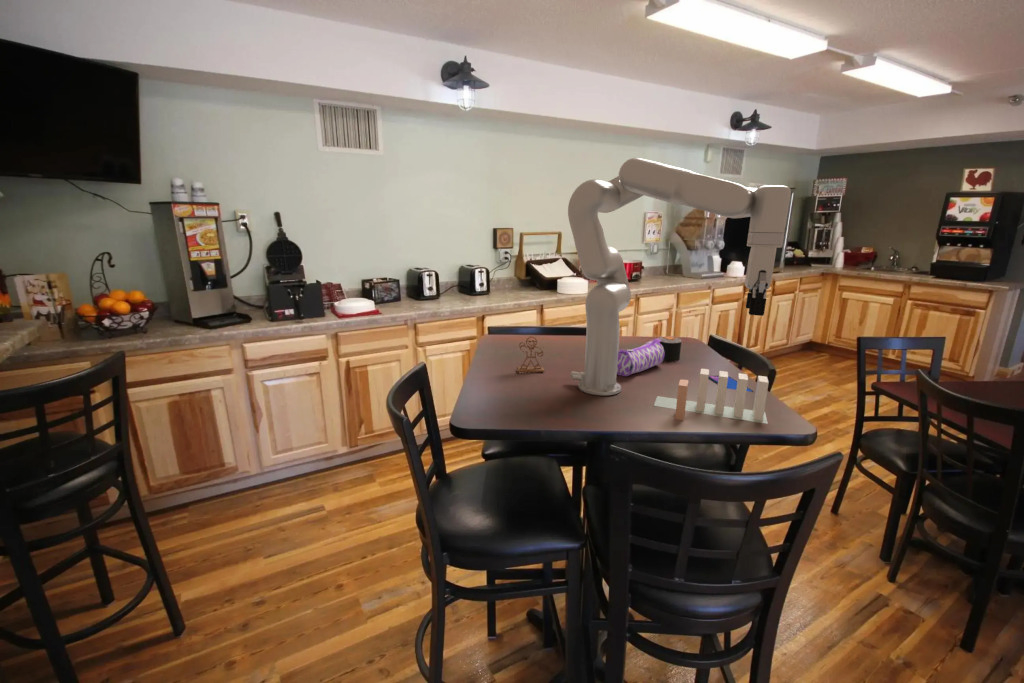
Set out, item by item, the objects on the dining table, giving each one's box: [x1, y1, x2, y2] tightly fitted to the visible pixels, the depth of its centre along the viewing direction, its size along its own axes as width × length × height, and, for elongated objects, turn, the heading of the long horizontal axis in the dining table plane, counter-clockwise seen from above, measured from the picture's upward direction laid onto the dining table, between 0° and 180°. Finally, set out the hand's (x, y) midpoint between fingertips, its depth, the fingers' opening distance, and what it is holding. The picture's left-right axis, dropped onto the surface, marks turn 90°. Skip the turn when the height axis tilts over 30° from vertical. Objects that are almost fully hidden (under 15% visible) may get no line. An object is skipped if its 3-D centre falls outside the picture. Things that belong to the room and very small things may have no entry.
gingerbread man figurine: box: [516, 336, 546, 373], centre depth 154 cm, size 9×4×12 cm, turn 95°
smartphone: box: [708, 375, 754, 393], centre depth 145 cm, size 7×1×15 cm
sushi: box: [656, 335, 682, 362], centre depth 173 cm, size 8×8×8 cm
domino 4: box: [733, 372, 749, 418], centre depth 118 cm, size 2×5×10 cm, turn 156°
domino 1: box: [674, 379, 690, 421], centre depth 117 cm, size 2×5×10 cm, turn 156°
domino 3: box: [714, 370, 729, 414], centre depth 120 cm, size 2×5×10 cm, turn 156°
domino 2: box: [696, 368, 710, 411], centre depth 122 cm, size 2×5×10 cm, turn 156°
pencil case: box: [617, 338, 665, 377], centre depth 158 cm, size 22×9×10 cm, turn 134°
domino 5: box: [752, 375, 770, 421], centre depth 117 cm, size 2×5×10 cm, turn 156°
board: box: [653, 395, 769, 425], centre depth 122 cm, size 27×8×1 cm, turn 66°
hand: (754, 311), depth 114 cm, fingers open, 9 cm apart
